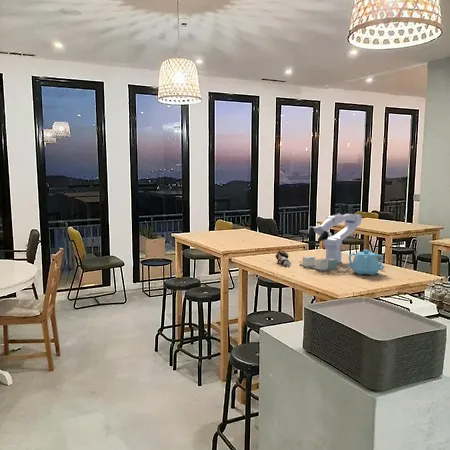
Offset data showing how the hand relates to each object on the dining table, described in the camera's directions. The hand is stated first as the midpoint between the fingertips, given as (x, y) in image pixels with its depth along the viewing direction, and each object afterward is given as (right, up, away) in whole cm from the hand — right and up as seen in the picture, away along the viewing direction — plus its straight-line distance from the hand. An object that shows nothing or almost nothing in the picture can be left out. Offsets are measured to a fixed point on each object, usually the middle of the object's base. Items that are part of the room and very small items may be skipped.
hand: (312, 238), depth 275 cm
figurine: (-17, -17, +12) cm, 26 cm away
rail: (+1, -18, -1) cm, 18 cm away
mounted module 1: (-2, -17, +4) cm, 18 cm away
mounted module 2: (+4, -18, -6) cm, 20 cm away
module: (+11, -18, -2) cm, 21 cm away
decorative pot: (+27, -20, -16) cm, 37 cm away
